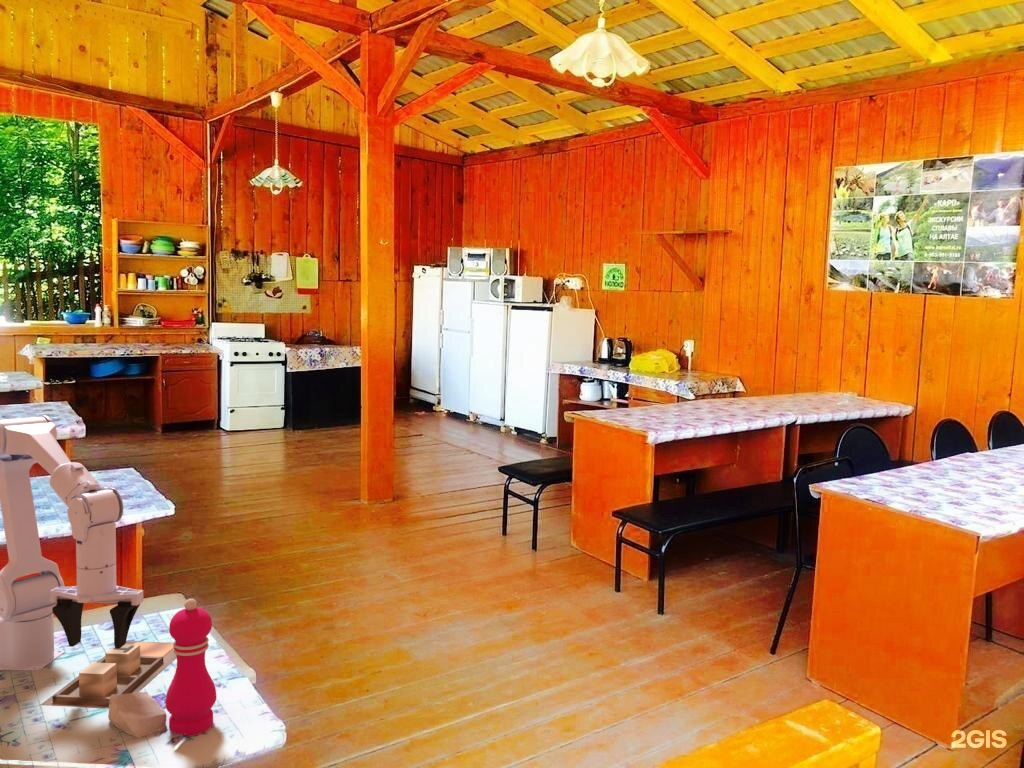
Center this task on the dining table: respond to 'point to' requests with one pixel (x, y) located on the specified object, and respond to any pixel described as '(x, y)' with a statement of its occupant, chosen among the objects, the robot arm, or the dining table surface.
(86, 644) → the dining table surface
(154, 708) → the tan faceted block
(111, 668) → the blank cube
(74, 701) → the organiser
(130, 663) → the letter cube
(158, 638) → the dining table surface
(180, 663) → the pepper mill
